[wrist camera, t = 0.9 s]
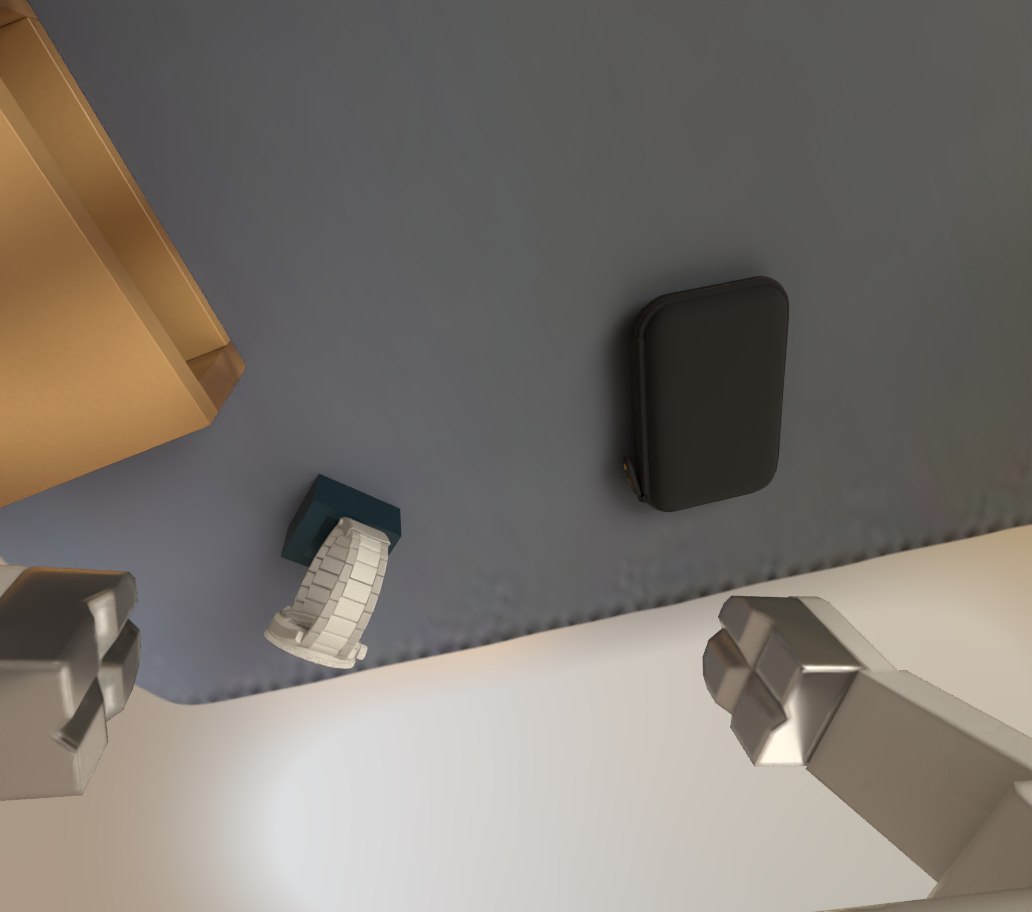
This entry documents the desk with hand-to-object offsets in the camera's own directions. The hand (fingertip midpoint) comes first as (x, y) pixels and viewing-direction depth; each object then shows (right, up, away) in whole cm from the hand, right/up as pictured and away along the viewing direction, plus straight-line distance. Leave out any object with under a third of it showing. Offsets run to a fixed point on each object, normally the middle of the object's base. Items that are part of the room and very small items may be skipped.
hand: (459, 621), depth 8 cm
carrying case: (+12, +6, +31) cm, 34 cm away
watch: (-10, -2, +31) cm, 32 cm away
